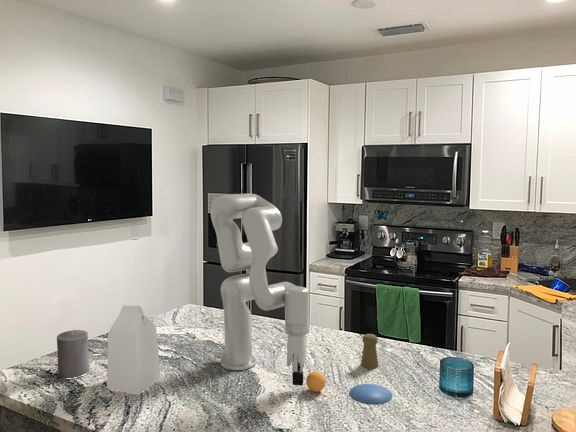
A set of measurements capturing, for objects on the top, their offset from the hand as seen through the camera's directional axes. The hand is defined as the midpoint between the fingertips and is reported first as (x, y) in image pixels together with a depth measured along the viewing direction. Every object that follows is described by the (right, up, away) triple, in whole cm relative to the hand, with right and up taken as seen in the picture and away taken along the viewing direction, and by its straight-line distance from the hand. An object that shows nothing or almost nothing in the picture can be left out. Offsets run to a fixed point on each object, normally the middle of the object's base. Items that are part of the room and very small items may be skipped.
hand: (297, 384), depth 154 cm
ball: (+6, +1, -1) cm, 6 cm away
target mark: (+22, -2, -3) cm, 23 cm away
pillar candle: (-75, -1, +13) cm, 77 cm away
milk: (-52, -2, +4) cm, 53 cm away
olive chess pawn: (+26, 0, +19) cm, 32 cm away
